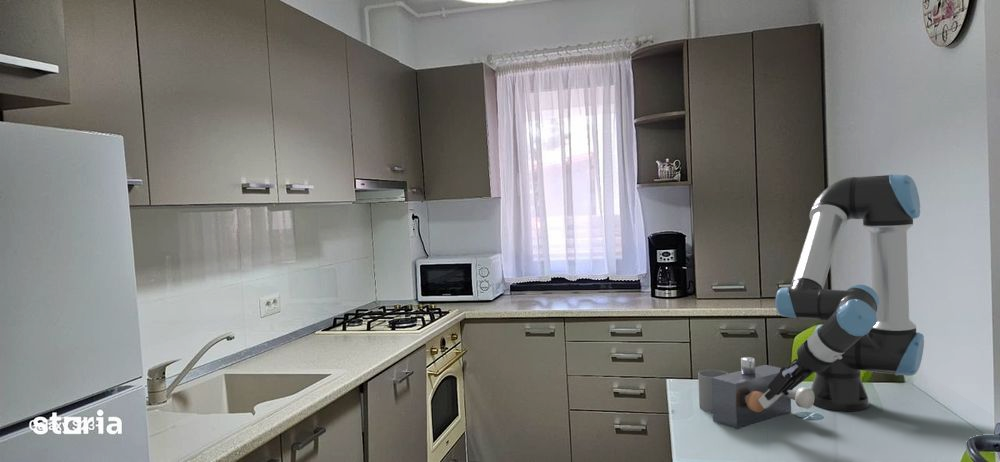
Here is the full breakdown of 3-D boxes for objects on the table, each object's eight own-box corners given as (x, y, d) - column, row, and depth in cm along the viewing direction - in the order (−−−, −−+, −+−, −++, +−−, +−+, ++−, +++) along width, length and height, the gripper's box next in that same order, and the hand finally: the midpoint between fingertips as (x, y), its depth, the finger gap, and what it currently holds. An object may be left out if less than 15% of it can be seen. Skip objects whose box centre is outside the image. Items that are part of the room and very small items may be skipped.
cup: (731, 412, 184) (730, 377, 184) (701, 412, 186) (699, 377, 185) (727, 403, 192) (726, 369, 192) (698, 403, 194) (697, 369, 193)
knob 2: (814, 406, 172) (814, 387, 172) (802, 410, 170) (801, 390, 169) (782, 398, 181) (782, 379, 180) (770, 401, 178) (769, 382, 178)
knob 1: (766, 410, 171) (765, 390, 171) (753, 414, 169) (752, 394, 168) (736, 401, 180) (735, 382, 180) (723, 404, 177) (722, 386, 177)
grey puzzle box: (791, 412, 181) (789, 370, 181) (736, 429, 170) (735, 383, 170) (766, 405, 188) (765, 364, 188) (713, 421, 177) (711, 377, 177)
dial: (754, 371, 181) (753, 357, 181) (756, 374, 178) (755, 360, 178) (740, 371, 182) (739, 357, 182) (742, 374, 178) (741, 360, 178)
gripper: (813, 368, 148) (754, 421, 163) (847, 359, 155) (788, 411, 170) (792, 341, 153) (736, 396, 168) (826, 334, 159) (770, 386, 174)
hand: (762, 403), depth 169 cm, fingers closed
